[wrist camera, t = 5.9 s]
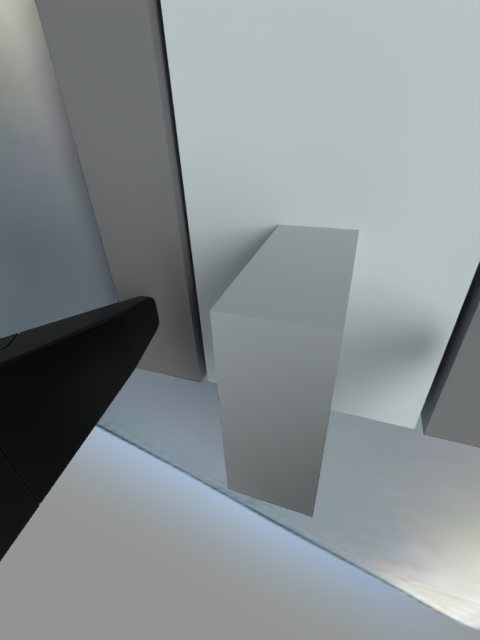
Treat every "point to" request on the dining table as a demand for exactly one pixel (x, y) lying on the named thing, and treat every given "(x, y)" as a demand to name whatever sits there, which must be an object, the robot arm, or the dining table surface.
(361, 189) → the white stepped block
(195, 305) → the filter housing
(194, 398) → the dining table surface
